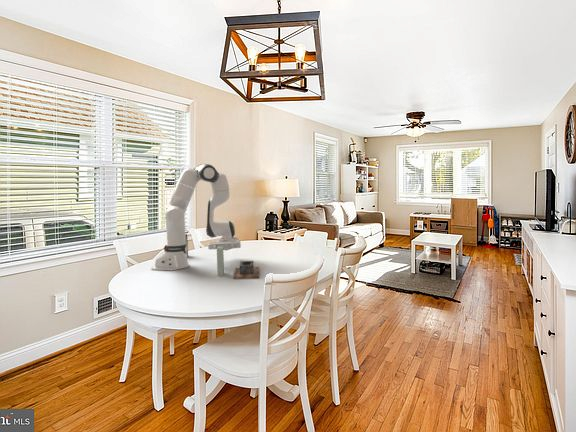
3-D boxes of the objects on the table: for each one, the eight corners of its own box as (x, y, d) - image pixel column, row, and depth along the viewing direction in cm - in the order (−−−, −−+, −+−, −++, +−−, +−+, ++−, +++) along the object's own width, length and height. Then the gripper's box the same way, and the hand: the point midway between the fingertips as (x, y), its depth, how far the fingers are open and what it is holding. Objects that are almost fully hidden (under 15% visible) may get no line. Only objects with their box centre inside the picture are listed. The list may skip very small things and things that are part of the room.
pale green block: (217, 276, 190) (216, 248, 188) (218, 273, 196) (218, 246, 194) (222, 275, 190) (222, 248, 188) (224, 273, 196) (223, 246, 194)
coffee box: (188, 255, 243) (187, 234, 241) (182, 257, 237) (181, 235, 235) (179, 254, 246) (178, 233, 245) (172, 256, 241) (171, 234, 239)
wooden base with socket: (233, 279, 184) (233, 268, 183) (236, 269, 203) (235, 259, 203) (258, 278, 185) (258, 267, 184) (259, 268, 204) (258, 258, 204)
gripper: (209, 239, 216) (205, 243, 202) (241, 237, 218) (239, 241, 204) (210, 248, 217) (206, 253, 203) (241, 247, 218) (240, 251, 205)
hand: (223, 247), depth 204 cm, fingers open, 8 cm apart
